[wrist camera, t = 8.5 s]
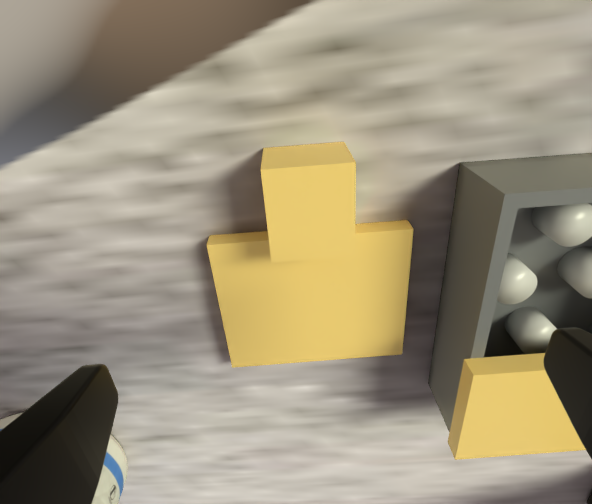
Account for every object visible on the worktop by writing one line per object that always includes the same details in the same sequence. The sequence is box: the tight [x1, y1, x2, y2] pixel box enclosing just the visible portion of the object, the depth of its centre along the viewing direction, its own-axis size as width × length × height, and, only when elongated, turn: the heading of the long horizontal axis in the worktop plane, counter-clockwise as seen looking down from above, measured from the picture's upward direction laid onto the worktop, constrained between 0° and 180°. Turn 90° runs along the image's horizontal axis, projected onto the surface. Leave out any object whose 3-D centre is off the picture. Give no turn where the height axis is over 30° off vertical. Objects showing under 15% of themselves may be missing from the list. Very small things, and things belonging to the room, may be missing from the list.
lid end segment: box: [207, 142, 413, 367], centre depth 19 cm, size 12×10×3 cm
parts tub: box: [428, 153, 592, 460], centre depth 19 cm, size 14×10×5 cm
